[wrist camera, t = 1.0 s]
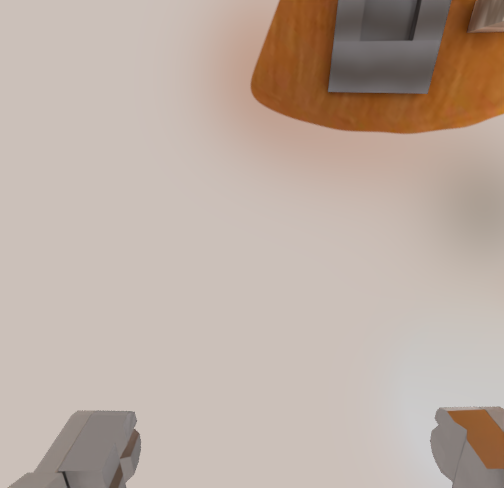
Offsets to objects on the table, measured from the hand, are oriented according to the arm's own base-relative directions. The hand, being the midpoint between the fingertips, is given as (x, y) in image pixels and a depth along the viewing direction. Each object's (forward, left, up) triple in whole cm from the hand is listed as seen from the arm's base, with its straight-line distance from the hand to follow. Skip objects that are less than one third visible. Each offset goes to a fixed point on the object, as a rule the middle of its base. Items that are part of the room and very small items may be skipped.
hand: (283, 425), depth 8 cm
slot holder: (-14, +6, -44) cm, 47 cm away
